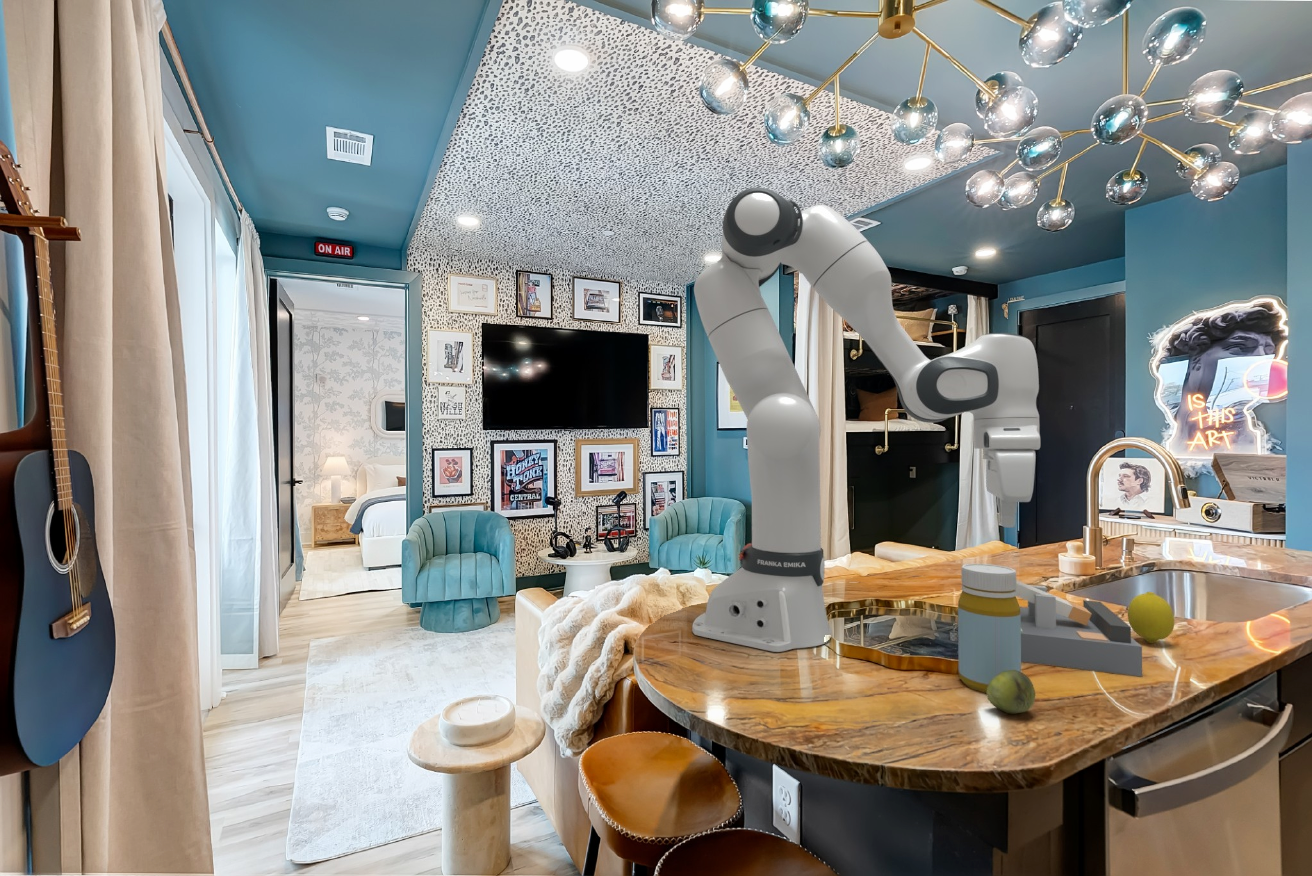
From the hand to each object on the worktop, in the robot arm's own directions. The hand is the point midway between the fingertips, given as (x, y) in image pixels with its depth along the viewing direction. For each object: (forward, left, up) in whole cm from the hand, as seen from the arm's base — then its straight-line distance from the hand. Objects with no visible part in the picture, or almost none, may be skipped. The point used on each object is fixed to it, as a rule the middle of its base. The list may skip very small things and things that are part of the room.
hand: (1007, 526), depth 91 cm
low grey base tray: (+4, 0, -18) cm, 19 cm away
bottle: (-5, -19, -18) cm, 27 cm away
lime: (-3, -27, -18) cm, 33 cm away
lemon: (+20, +9, -18) cm, 29 cm away
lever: (+4, 0, -11) cm, 12 cm away
